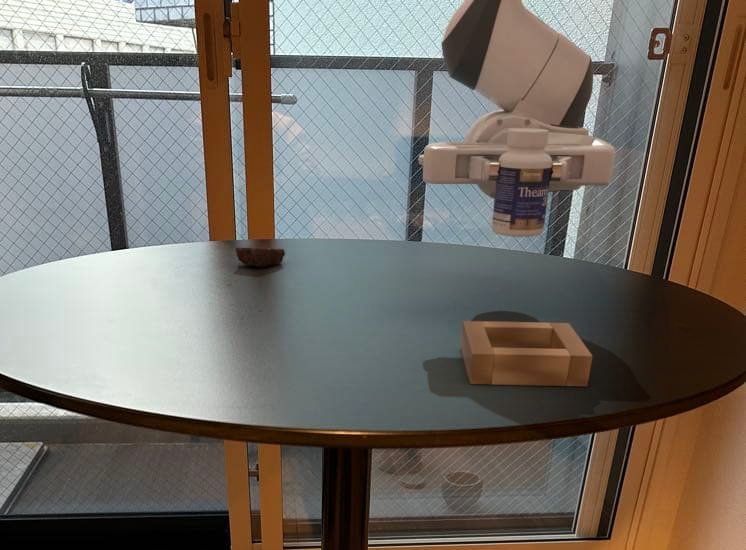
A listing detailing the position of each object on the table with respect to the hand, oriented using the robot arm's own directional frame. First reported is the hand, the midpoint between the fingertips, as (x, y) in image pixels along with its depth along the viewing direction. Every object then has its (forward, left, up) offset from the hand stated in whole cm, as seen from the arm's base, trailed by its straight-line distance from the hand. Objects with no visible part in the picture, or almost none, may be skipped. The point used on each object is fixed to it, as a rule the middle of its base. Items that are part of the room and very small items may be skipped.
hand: (525, 172), depth 81 cm
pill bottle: (0, -1, -6) cm, 6 cm away
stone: (+32, -34, -17) cm, 50 cm away
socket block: (0, +11, -17) cm, 20 cm away
